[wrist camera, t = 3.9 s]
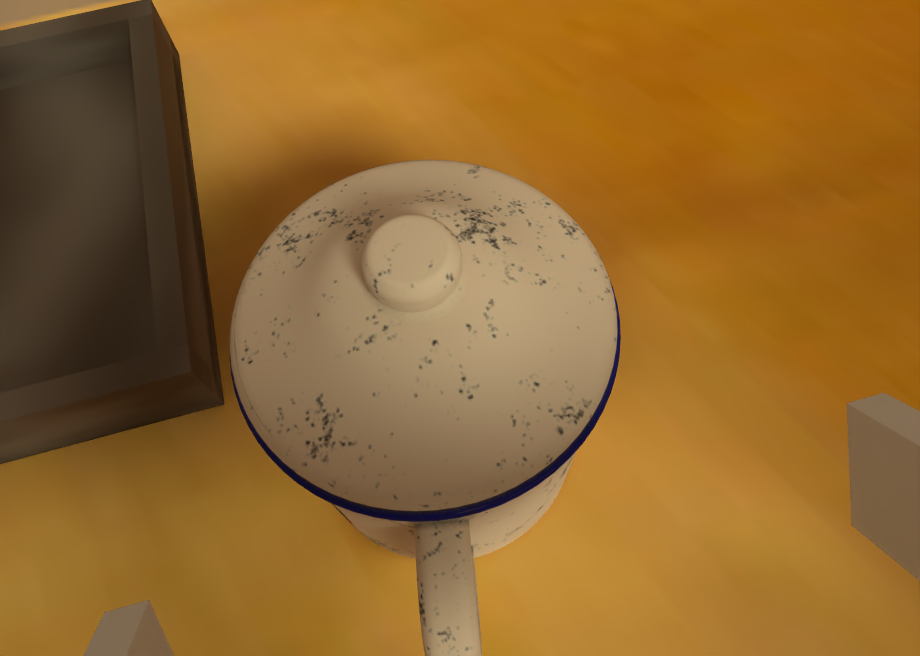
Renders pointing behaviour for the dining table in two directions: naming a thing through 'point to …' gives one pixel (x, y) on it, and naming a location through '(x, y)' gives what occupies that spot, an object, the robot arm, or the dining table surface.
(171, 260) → the tea tray
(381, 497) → the teacup with lid
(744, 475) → the dining table surface
